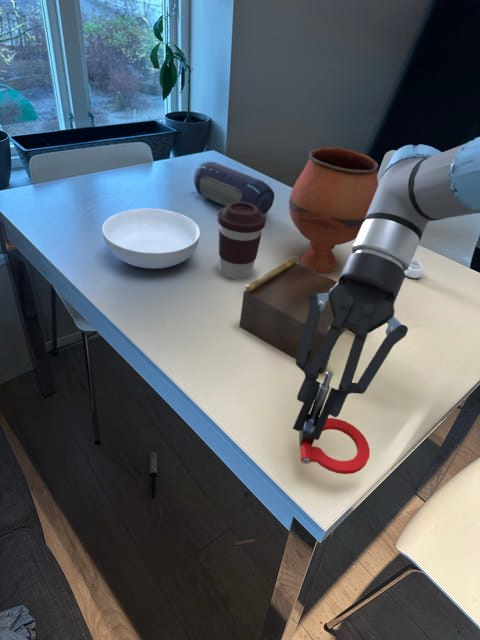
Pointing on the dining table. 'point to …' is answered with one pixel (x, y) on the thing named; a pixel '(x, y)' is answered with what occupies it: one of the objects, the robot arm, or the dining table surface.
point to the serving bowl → (151, 237)
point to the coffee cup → (239, 238)
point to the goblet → (332, 201)
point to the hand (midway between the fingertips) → (306, 433)
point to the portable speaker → (231, 186)
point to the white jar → (414, 270)
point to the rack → (286, 308)
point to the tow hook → (316, 453)
